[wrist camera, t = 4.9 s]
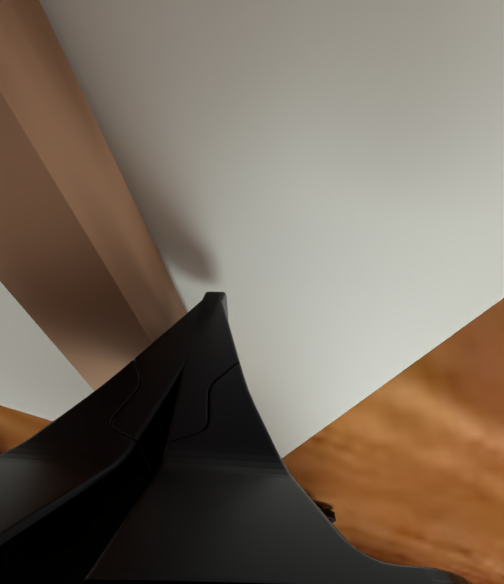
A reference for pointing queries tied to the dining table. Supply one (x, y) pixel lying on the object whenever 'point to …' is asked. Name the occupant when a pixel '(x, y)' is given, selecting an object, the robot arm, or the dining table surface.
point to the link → (71, 212)
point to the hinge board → (296, 184)
